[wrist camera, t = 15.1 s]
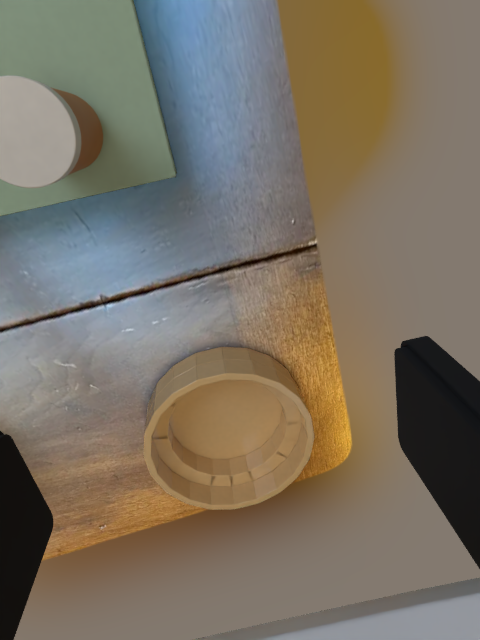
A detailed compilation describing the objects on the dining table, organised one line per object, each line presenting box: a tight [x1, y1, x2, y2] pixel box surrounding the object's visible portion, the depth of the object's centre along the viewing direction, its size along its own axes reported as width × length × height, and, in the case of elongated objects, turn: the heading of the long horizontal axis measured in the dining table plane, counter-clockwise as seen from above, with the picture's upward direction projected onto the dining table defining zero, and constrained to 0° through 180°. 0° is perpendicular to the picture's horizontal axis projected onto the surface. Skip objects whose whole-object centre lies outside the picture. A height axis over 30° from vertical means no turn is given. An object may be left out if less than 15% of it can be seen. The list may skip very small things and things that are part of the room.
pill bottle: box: [0, 75, 103, 188], centre depth 23 cm, size 5×5×8 cm
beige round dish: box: [143, 347, 315, 509], centre depth 38 cm, size 14×14×5 cm
